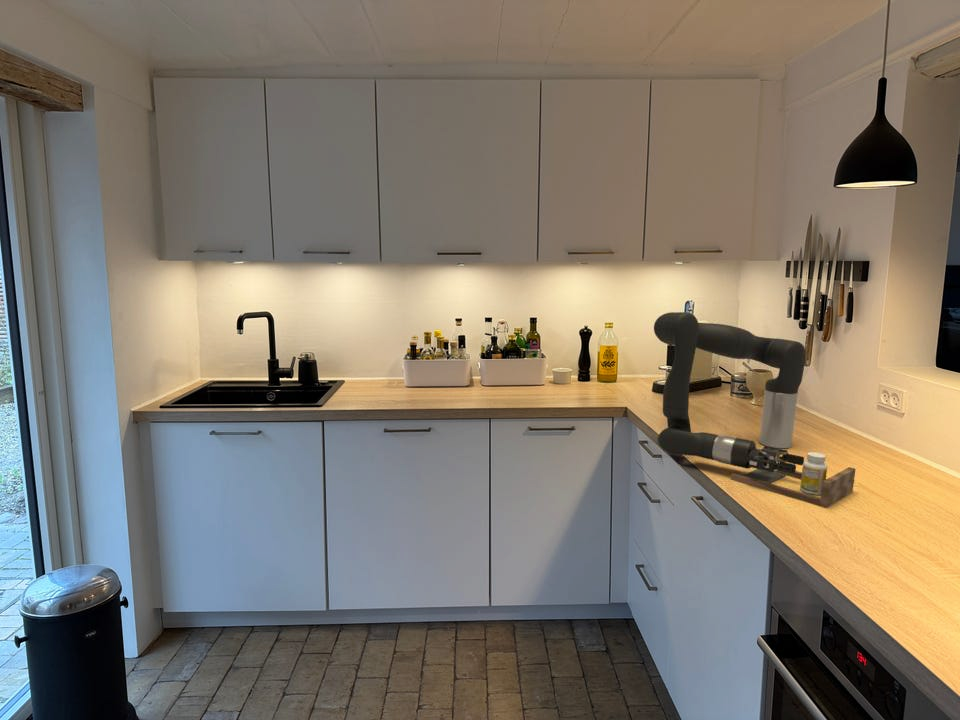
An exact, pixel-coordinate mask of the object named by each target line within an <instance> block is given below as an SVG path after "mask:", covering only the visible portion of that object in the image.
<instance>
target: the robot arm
mask: <svg viewBox="0 0 960 720" xmlns="http://www.w3.org/2000/svg"><path fill="white" fill-rule="evenodd" d="M653 332H654V334H655V336H656V338H657V339H658V340H659V341H660V342H662V343H664V344H666V345H671V346H672V345H673V346H674V360H673V363H672V366H671V369H670V370H669V373H668V374H667V377H666V380H665V383H664V386H663V391H662V414H663V416H664V417H665V418H666V422H667V428H664V429H663V430H662V431H660V433H659V434H658V437H657V442H658V445H659V447H661V449H662V450H663V451H665V452H667V453H669V454H673V455H680V456H681V455H682V456H689V457H691V456H692V457H693V456H694V457H699V458H702V459H705V460H706V459H707V460H711V461H716V462H718V463H720V464H724V465H729V466H733V467H739V468H743V469H746V470H749V469H751V468H752V469H755V470H756V469H760V470H764V471H768V472H774V471H778V470H779V471H784V472H788V473H795V472H796V471H797V466H798V465H799V466H803V463H804V462H805V456H802V455H796V454H792V453H789V452H788V450H787V449H791V448H792V447H793V446H792V445H793V437H794V429H795V420H796V411H797V403H798V400H797V399H798V393H799V388H800V386H801V384H802V381H803V376H804V370H805V365H806V357H807V355H806V354H807V353H806V352H807V351H806V348H805V346H804V345H803V343H801V342H799V341H796V340H791V339H784V338H774V337H772V338H771V337H763V336H757V335H755V334H754V333H752V332H750V331H749V330H747V329H745V328H741V327H737V326H733V325H728V324H722V323H714V322H713V323H712V322H710V323H708V322H699V321H698V319H697V318H696V316H695V315H694V314H692V313H691V312H686V311H685V312H684V311H683V312H682V311H680V312H679V311H678V312H673V311H672V312H665V313H663V314H662V315H660V316H658V317H657V319H656V320H655V321H654V323H653ZM696 349H699V350H701V351H704V352H708V353H710V354H715V355H718V356H721V357H726V358H730V359H735V360H746V359H747V360H752V361H755V362H759V363H761V364H764V365H766V366H768V367H770V368H775V369H779V370H778V375H777V376H776V377H775V378H772V379H767V380H766V381H765V385H764V386H765V387H764V395H763V402H762V403H763V404H762V413H761V424H760V431H759V432H760V434H759V443H760V444H761V445H763V448H761V449H760V448H757V446H756V442H755V441H754V440H750V439H746V438H741V437H740V438H739V437H734V436H731V435H720V434H715V433H709V432H704V431H703V432H692V429H691V427H692V426H691V422H690V421H691V420H690V416H689V405H690V404H689V403H690V402H689V401H690V400H689V399H690V385H691V384H690V382H691V375H692V369H693V365H694V360H695V354H696Z"/></svg>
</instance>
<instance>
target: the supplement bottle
mask: <svg viewBox="0 0 960 720" xmlns="http://www.w3.org/2000/svg"><path fill="white" fill-rule="evenodd" d="M826 458H827V457H826V455H825V454H823V453H820V452H813V451H809V452H808V453H807V456H806V459H807V460H804V463H803V465H802V471H801V472H802V477H801V479H800V484H799V485H800V486H799V489H800V490H801V491H802V493H805V494H809V495H812V496H821V492H822V484H823V481H824V480H826V479H827V472H828V466H827V464H826V463H825V461H826Z"/></svg>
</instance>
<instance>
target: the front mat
mask: <svg viewBox="0 0 960 720" xmlns="http://www.w3.org/2000/svg"><path fill="white" fill-rule="evenodd" d="M742 475H743V476H746V477H750V478H753V479H757V480H760V481H764V482H767V483H771V484H773V483H775V482H776V481H779V480H781V479H783V478H785V477H787V475H785V474H781V473H777V472H768V471H764V470H760V469H756V468H755V469H753V470H751V471H749V472H747V473H745V474H742Z"/></svg>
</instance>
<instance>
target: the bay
mask: <svg viewBox="0 0 960 720" xmlns="http://www.w3.org/2000/svg"><path fill="white" fill-rule="evenodd" d="M856 471H857V469H856V468H855V467H847V468H845V469H843V470H841V471H839V472H838V473H835V474H833V475H832V476H830V477H828V478H826V480H824V481H823V484H822V492H821V495H820V497H819V496H817V495H813V494H808V493H805V492H803V491H802V492H801V491H797V490H794V489H791V488H787V487H784V486H782V485H778V484H773V483H767V482H764V481H760V480H757V479H753V478H750V477H746V476H743V475H744V474H739V473H736V472H733V473H731V474H730V480H732V481H734V482H735V481H736V482H739V483H742V484H746V485H749V486H751V487H752V486H753V487H755V488H760V489H762V490H766V491H769V492H772V493H775V494H780V495H783V496H786V497H789V498H792V499H797V500H800V501H802V502H807V503H810V504H813V505H816V506H820V507H823V508H828V507H830V506H831V505H833V504H834V503H836V502H838V501H840V500H841V499H843V498H845V497H846V496H847V495H848V496H849V494H851V493H853V491H854V484H855V476H856ZM774 472H777V473H781V474H785V475H786V477H787V476H788V477H792V478H795V479H799V480H801V477H802V471H798V470H796V472H795V473H788V472H784V471H779V470H778V471H774Z"/></svg>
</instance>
